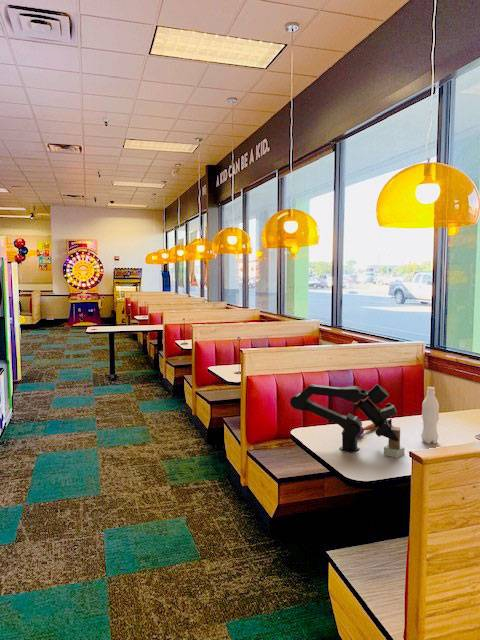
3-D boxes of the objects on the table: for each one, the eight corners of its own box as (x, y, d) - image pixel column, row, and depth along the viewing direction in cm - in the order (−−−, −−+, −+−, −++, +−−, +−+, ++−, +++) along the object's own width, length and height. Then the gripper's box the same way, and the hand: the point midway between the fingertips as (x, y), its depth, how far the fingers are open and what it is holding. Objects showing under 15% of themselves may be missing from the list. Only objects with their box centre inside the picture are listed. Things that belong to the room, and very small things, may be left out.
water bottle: (439, 441, 218) (441, 386, 216) (436, 445, 212) (437, 390, 210) (423, 438, 222) (424, 384, 220) (419, 442, 216) (420, 388, 214)
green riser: (396, 457, 199) (396, 450, 198) (383, 454, 203) (383, 447, 203) (404, 454, 203) (404, 447, 202) (391, 450, 207) (391, 443, 207)
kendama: (381, 422, 233) (359, 429, 220) (378, 434, 235) (356, 441, 221) (371, 418, 238) (348, 423, 224) (368, 429, 239) (345, 435, 225)
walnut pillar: (388, 448, 201) (388, 429, 200) (388, 444, 205) (389, 426, 205) (399, 449, 200) (400, 430, 199) (399, 445, 204) (400, 427, 203)
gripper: (384, 404, 193) (413, 434, 191) (385, 393, 211) (412, 420, 208) (364, 422, 196) (391, 451, 194) (366, 409, 214) (392, 436, 212)
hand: (397, 439), depth 202 cm, fingers closed on walnut pillar, 4 cm apart
